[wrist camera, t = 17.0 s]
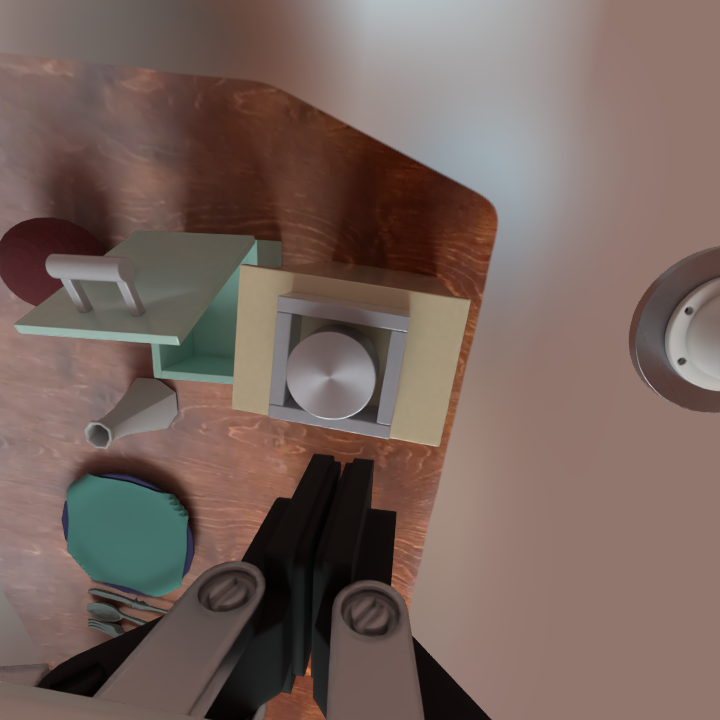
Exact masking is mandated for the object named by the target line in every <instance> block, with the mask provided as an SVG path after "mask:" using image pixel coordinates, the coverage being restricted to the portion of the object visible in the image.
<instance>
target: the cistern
mask: <svg viewBox="0 0 720 720" xmlns="http://www.w3.org/2000/svg"><path fill="white" fill-rule="evenodd" d="M470 302H471V301H470V299H468V298H465V297H459V296H454V295H453V294H452V293H451V292H450V290H449V289H448V288H447V287H446V286H445V285H444V284H443V283H442V282H441V281H440V280H439V279H438V278H437V277H436V276H430V275H424V274H417V273H410V272H404V271H397V270H391V269H384V268H377V267H371V266H364V265H357V264H351V263H344V262H338V261H324V262H316V263H308V264H299V265H291V266H283V267H274V268H271V267H264V266H258V265H251V264H241V265H240V275H239V292H238V308H237V325H236V342H235V359H234V376H233V392H232V409H236V410H242V411H247V412H253V413H258V414H263V415H268V417H270V418H276V419H281V420H287V421H292V422H297V423H303V424H308V425H314V426H319V427H324V428H330V429H335V430H341V431H346V432H351V433H357V434H362V435H368V436H373V437H379V438H384V439H389V438H394V439H399V440H404V441H410V442H415V443H421V444H426V445H431V446H437V447H439V446H440V442H441V437H442V432H443V428H444V423H445V418H446V414H447V409H448V404H449V400H450V395H451V390H452V386H453V381H454V377H455V372H456V367H457V363H458V358H459V353H460V349H461V344H462V339H463V335H464V330H465V325H466V321H467V316H468V311H469V307H470ZM332 324H341V325H347V326H350V327H353V328H355V329H357V330H359V331H360V332H362V333H363V334H364V335H365V336H366V337H368V339H369V340H370V341H371V342H372V344H373V345H374V347H375V349H376V351H377V354H378V358H379V374H378V378H377V382H376V386H375V389H374V392H373V395H372V397H371V399H370V401H369V402H368V403H367V405H366V406H365V407H364V408H363V409H362V410H360V411H359V412H358V413H356V414H354V415H352V416H350V417H347V418H343V419H336V420H330V419H324V418H319V417H317V416H314V415H312V414H310V413H308V412H307V411H305V410H304V409H303V408H302V407H301V406H300V405H299V404H298V403H297V402H296V401H295V400H294V398H293V397H292V395H291V393H290V391H289V388H288V385H287V381H286V366H287V362H288V358H289V356H290V354H291V352H292V351H293V349H294V348H295V347H296V346H297V344H299V343H300V342H301V341H302V340H303V339H304V338H306V337H307V336H308V335H309V334H311V333H312V332H313V331H315V330H316V329H318V328H320V327H323V326H326V325H332Z"/></svg>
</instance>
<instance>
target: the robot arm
mask: <svg viewBox="0 0 720 720" xmlns="http://www.w3.org/2000/svg"><path fill="white" fill-rule="evenodd" d="M685 309H686V310H685ZM665 350H666V355H667V358H668V360H669V362H670V364H671V366H672V367H673V368H674V370H675V371H676V372H677V373H678V374H679V375H680V376H681V377H682V378H684V379H685V380H687V381H689V382H691V383H692V384H694V385H697V386H699V387H702V388H704V389H709V390H714V391H720V277H718V278H715V279H712V280H710V281H708V282H706V283H704V284H702V285H700V286H698V287H697V288H696V289H694V290H693V291H692V292H691V293H689V294H688V295H687V296H686V297H685V298H684V299H683V300H682V301H681V302H680V303H679V305H678V306H677V307H676V309H675V310H674V312H673V313H672V315H671V318H670V320H669V322H668V324H667V328H666V333H665ZM678 359H679V360H678ZM373 469H374V460H367V459H358V458H354V460H353V463H346V464H345V467H344V470H343V473H342V476H341V462H338V461H335V459H334V456H331V455H322V454H314V455H313V457H312V459H311V461H310V463H309V465H308V467H307V469H306V471H305V473H304V475H303V477H302V479H301V481H300V483H299V485H298V487H297V489H296V491H295V493H294V495H293V497H292V499H290V498H282V497H279V498H277V499H276V500H275V502H274V504H273V505H272V507H271V509H270V511H269V513H268V514H267V516H266V518H265V520H264V521H263V523H262V525H261V527H260V528H259V530H258V532H257V534H256V536H255V537H254V539H253V541H252V543H251V544H250V546H249V548H248V550H247V551H246V553H245V555H244V557H243V559H242V560H241V561H233V562H225V563H222V564H219V565H216V566H214V567H212V568H210V569H208V570H206V571H205V572H204V573H203V574H202V575H200V576H199V577H198V578H197V579H196V580H195V581H194V583H193V584H192V585H191V586H190V587H189V588H188V589H187V590H186V592H185V593H184V594H183V595H182V596H181V597H180V598H179V600H178V601H177V602H176V603H175V604H174V605H173V606H172V608H171V609H170V610H169V611H168V612H167V613H166V614H165V615H163V616H161V617H159V618H157V619H155V620H152V621H150V622H148V623H146V624H144V625H141V626H139V627H137V628H135V629H133V630H131V631H128V632H126V633H124V634H122V635H120V636H117V637H115V638H113V639H111V640H109V641H106V642H104V643H102V644H100V645H98V646H96V647H93V648H91V649H89V650H87V651H85V652H82V653H80V654H78V655H76V656H74V657H72V658H70V659H69V660H67V661H65V662H63V663H62V664H60V665H58V666H57V667H56V668H55V669H53V670H51V671H49V666H48V664H34V665H18V666H3V667H0V720H263V718H264V715H265V712H266V709H267V702H268V701H269V700H271V699H272V698H274V697H275V696H277V695H278V694H280V693H281V692H284V693H289V694H291V691H292V688H293V684H294V681H295V677H296V675H297V676H304V675H305V673H306V669H307V665H308V662H309V658H310V654H311V678H314V680H313V698H314V700H315V702H316V703H317V705H318V706H319V708H320V710H321V711H322V713H323V715H324V716H325V718H326V720H491V719H490V718H489V717H488V716H487V714H486V713H485V712H484V711H483V710H482V709H481V708H480V707H479V706H478V705H477V704H476V703H475V702H474V701H473V700H472V699H471V697H470V696H469V695H468V694H467V693H466V692H465V691H464V690H463V689H462V688H461V687H460V686H459V685H458V684H457V683H456V682H455V680H453V678H452V677H451V676H450V675H449V674H448V673H447V672H446V671H445V670H444V669H443V668H442V667H441V666H440V665H439V664H438V662H437V661H436V660H435V659H434V658H433V657H432V656H431V655H430V654H429V653H428V652H427V651H426V650H425V649H424V648H423V647H422V645H421V644H420V643H419V642H418V641H417V640H416V639H415V638H414V637H413V636H412V633H411V627H410V621H409V614H408V609H407V606H406V603H405V600H404V599H403V598H402V596H401V595H400V594H399V592H397V591H396V590H395V589H394V588H392V587H391V578H392V565H393V552H394V539H395V525H396V512H395V511H387V510H379V509H371V500H372V484H373ZM311 650H312V652H311Z"/></svg>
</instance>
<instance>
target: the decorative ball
mask: <svg viewBox="0 0 720 720" xmlns="http://www.w3.org/2000/svg"><path fill="white" fill-rule="evenodd" d="M51 254H72V255H91V256H104V255H105V254H106V253H105V251H104V249H103V247H102V246H101V244H100V243H99V242H98V240H97V239H96V238H94V237H93V236H92V235H91V234H90V233H89V232H88V231H86V230H85V229H83V228H82V227H80V226H78V225H76V224H74V223H71V222H69V221H66V220H61V219H56V218H34V219H30V220H26V221H23V222H21V223H19V224H17V225H15V226H14V227H12V228H11V229H10V230H9V231H8V232H6V233H5V235H4V236H3V238H2V239H1V241H0V276H1V278H2V279H3V281H4V283H5V284H6V285H7V286H8V288H9V289H10V290H11V291H12V292H14V293H15V294H16V295H17V296H18V297H19V298H21V299H22V300H24V301H26V302H28V303H30V304H32V305H35V306H38V305H40V304H41V303H42V302H44V301H45V300H46V299H47V298H49V297H50V296H51V295H53V294H54V293H55V292H57V291H58V290H59V289H61V288H62V287H63V286H64V285H63V283H62V281H61V279H57V278H53V277H52V276H50V275H49V273H48V272H47V270H46V259H47V257H48V256H49V255H51Z"/></svg>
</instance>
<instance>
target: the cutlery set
mask: <svg viewBox="0 0 720 720" xmlns="http://www.w3.org/2000/svg"><path fill="white" fill-rule="evenodd" d="M188 517H189V516H188V511H187V510H186V509H185V508H184V506H183V505H182V504H180V502H179V500H178V499H177V498H176V496H175V495H173V494H166V493H164V492H163V491H162V490H160V489H159V488H158V487H156V486H155V485H154V484H152V483H150V482H147V481H145V480H142V479H140V478H137V477H135V476H132V475H126V474H117V473H107V474H102V475H97V476H92V475H91V474H90V473H89V472H88V473H87V474H85V475H84V476H83V477H81V478H80V479H78V480H76V481H74V482H73V483H72V484H71V485H70V486H69V488H68V491H67V500H66V501H65V504H64V510H63V516H62V524H63V529H64V535H65V539H66V541H67V550H68V552H69V553H70V554H71V555H72V557H73V558H74V559H75V560H76V562H77V563H78V564H79V565H80V566H81V568H82V569H84V570H85V572H86V573H87V574H88V575H89V576H90V578H92V579H93V580H96V581H100V582H103V583H104V584H106V585H108V586H110V587H113V588H115V589H118V590H120V591H123V592H126V593H133V594H141V595H149V596H153V597H159V596H163V595H165V594H167V593H169V592H171V591H173V590H175V589H177V588H179V587H181V586H182V579H183V577H184V576H185V575H186V574H187V573H188V571H189V569H190V566H191V563H192V559H193V556H194V541H193V533H192V531H191V528H190V526H189V523H188ZM88 593H92V594H95V595H99V596H103V597H106V598H110V599H114V600H117V601H121V602H124V603H128V604H132V609H133V608H134V607H138V609H139V610H145V609H149V610H153V611H157V612H163V613H167V612H168V611H167V610H163V609H159V608H156V607H153V606H149V605H148V604H146V603H145V602H144V601H140V602H139V601H138V600H137V598H136V599H135V600H132V599H130V598H127V597H125V596H122V595H119V594H116V593H112V592H108V591H105V590H101V589H96V588H94V589H90V590H89V591H88ZM87 611H88V612H90V613H91V614H92V615H93V616H94V617H97V618H99V619H101V620H104V621H111V622H115V621H118V620H121V619H122V618H126V619H128V620H130V621H132V622H135V623H138V624H140V625H144V624H146V623H148V622H146V621H143V620H141V619H138V618H134V617H131V616H128V615H126V614H123V613H121V612H120V611H119V610H118V609H117V608H116V607H115V606H113V605H111V604H109V603H103V602H95V603H92V604H88V605H87ZM88 621H91V622H88V624H91V625H88V627H91V628H95V629H98V630H100V631H102V632H104V633H106V634H109V635H111V636H113V637H114V638H115V637H116V636H120V635H122V634H124V633H126V632H124V628H122V627H121V626H119V625H117V624H112V623H107V622H102V621H98V620H95V619H88Z"/></svg>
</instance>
